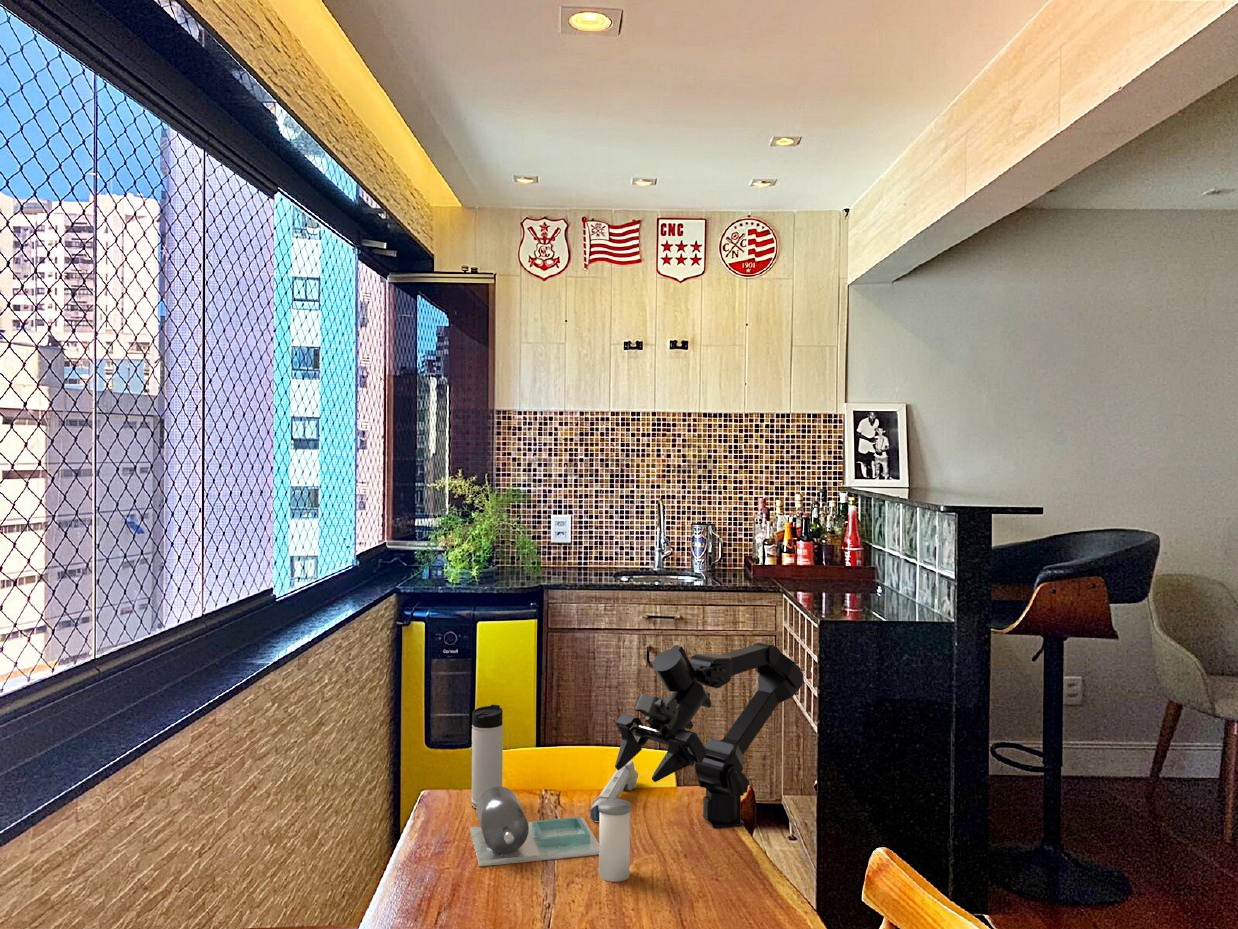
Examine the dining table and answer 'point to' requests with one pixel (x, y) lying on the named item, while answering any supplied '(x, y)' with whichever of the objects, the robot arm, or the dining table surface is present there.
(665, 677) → the robot arm
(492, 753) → the travel mug
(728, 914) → the dining table surface
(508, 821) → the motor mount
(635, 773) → the light grey long piece
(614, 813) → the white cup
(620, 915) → the dining table surface
